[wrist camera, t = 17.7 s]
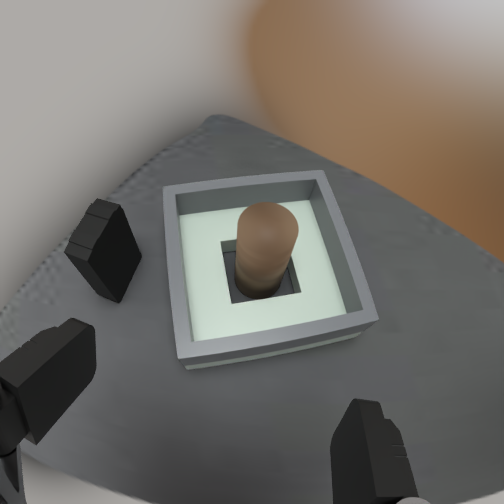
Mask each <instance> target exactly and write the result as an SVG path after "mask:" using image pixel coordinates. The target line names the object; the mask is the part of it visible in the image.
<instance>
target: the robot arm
mask: <svg viewBox="0 0 504 504" xmlns="http://www.w3.org/2000/svg"><path fill="white" fill-rule="evenodd" d="M95 371H96V344H95V329H94V327H93V326H92V325H89V324H87V323H84V322H82V321H80V320H77V319H75V318H70V319H68V320H67V321H66V322H64V323H63V324H62V325H60V326H59V327H58V328H57V327H52V328H49V329H46V330H43V331H40V332H39V333H38V334H36V335H35V336H34V337H32V338H31V339H30V341H27V342H26V343H25V344H23V345H22V347H21V348H20V347H19V348H18V349H17V350H15V351H14V352H13V353H11V354H10V355H9V356H8V357H6V358H5V359H4V360H2V361H1V362H0V504H27V503H26V499H25V493H24V485H23V475H22V463H21V448H20V444H19V443H20V442H21V441H22V440H23V438H26V439H27V440H29V441H30V442H32V443H33V444H35V445H37V444H38V443H39V442H40V440H41V439H42V438H43V437H44V436H45V435H46V433H47V432H48V431H49V430H50V429H51V427H52V426H53V425H54V424H55V423H56V422H57V420H58V419H59V418H60V417H61V416H62V414H63V413H64V412H65V411H66V410H67V409H68V407H69V406H70V405H71V404H72V403H73V402H74V401H75V399H76V398H77V397H78V396H79V395H80V394H81V392H82V391H83V390H84V389H85V388H86V387H87V386H88V384H89V383H90V382H91V381H92V379H93V377H94V374H95ZM403 445H404V443H403V440H402V437H401V434H400V431H399V430H398V428H397V427H396V426H395V425H394V423H393V422H392V421H391V420H390V419H384V416H383V412H382V409H381V405H380V403H379V402H377V401H370V400H363V399H353V400H352V402H351V403H350V405H349V407H348V409H347V410H346V412H345V414H344V416H343V418H342V420H341V421H340V423H339V425H338V427H337V428H336V430H335V432H334V434H333V437H332V441H331V446H330V455H331V470H332V488H333V504H431V503H429V502H428V501H426V500H424V499H421V498H419V496H418V493H417V489H416V485H415V482H414V478H413V474H412V471H411V467H410V464H409V460H408V458H406V457H407V453H406V450H405V447H403Z"/></svg>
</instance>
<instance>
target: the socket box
mask: <svg viewBox="0 0 504 504" xmlns="http://www.w3.org/2000/svg"><path fill="white" fill-rule="evenodd" d="M259 202H272V203H277V204H279V205H282V206H284V207H285V208H287V209H288V210H289V211H290V212H291V213H292V214H293V215H294V216H295V218H296V220H297V222H298V226H299V233H298V237H297V240H296V243H295V245H294V248H293V251H292V254H291V256H290V259H289V262H288V265H287V266H288V270H289V274H290V278H291V281H292V285H293V289H294V293H295V294H290V295H284V296H279V297H273V298H267V299H261V300H255V301H248V302H242V303H236V304H231V300H230V294H229V289H228V283H227V277H226V272H225V266H224V261H223V255H222V253H223V252H230V251H236V242H237V223H238V219H239V217H240V215H241V213H242V212H243V211H244V210H245V209H246V208H247V207H249V206H251V205H253V204H255V203H259ZM163 205H164V224H165V239H166V253H167V265H168V277H169V287H170V297H171V307H172V316H173V324H174V332H175V340H176V348H177V355H178V359H179V361H180V362H181V363H182V364H183V365H184V366H185V367H186V369H187V370H190V369H197V368H204V367H211V366H218V365H224V364H231V363H237V362H243V361H248V360H254V359H260V358H265V357H270V356H275V355H280V354H285V353H290V352H295V351H300V350H304V349H309V348H313V347H318V346H322V345H326V344H330V343H334V342H339V341H343V340H347V339H350V338H354V337H356V336H358V335H359V334H360V333H362V332H363V331H365V330H366V329H367V328H369V327H370V326H371V325H373V324H374V323H375V322H377V321H378V320H379V317H378V314H377V311H376V308H375V305H374V302H373V299H372V296H371V293H370V290H369V287H368V284H367V281H366V278H365V275H364V273H363V270H362V267H361V264H360V261H359V259H358V256H357V253H356V250H355V248H354V245H353V242H352V240H351V237H350V235H349V232H348V229H347V227H346V224H345V222H344V219H343V217H342V214H341V212H340V209H339V207H338V204H337V202H336V199H335V197H334V195H333V192H332V190H331V187H330V185H329V183H328V180H327V178H326V176H325V173H324V171H323V170H315V171H301V172H288V173H276V174H265V175H254V176H244V177H235V178H226V179H217V180H209V181H201V182H193V183H186V184H179V185H172V186H165V187H163Z"/></svg>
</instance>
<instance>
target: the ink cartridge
mask: <svg viewBox="0 0 504 504" xmlns="http://www.w3.org/2000/svg"><path fill="white" fill-rule="evenodd" d="M64 253H65V254H66V255H67V257H68V258H69V259H70V261H71V262H72V263H73V264H74V266H75V267H76V268H77V269H78V271H79V272H80V273H81V274H82V276H83V277H84V278H85V279H86V281H87V282H88V283H89V284H90V285H91V287H92V288H93V289H94V290H95V291H96V293H97V294H98V295H101V296H103V297H106V298H108V299H111V300H113V301H116V302H120V301H121V300H122V298H123V296H124V294H125V292H126V289H127V287H128V285H129V283H130V281H131V279H132V277H133V275H134V272H135V270H136V268H137V266H138V264H139V262H140V260H141V253H140V251H139V248H138V246H137V243H136V241H135V238H134V236H133V234H132V231H131V229H130V226H129V223H128V221H127V218H126V216H125V213H124V210H123V209H122V208H121V206H120V205H119V204H116V203H112V202H108V201H105V200H101V199H96V200H95V202H94V203H93V204H91V205H90V206H89V208H88V209H87V211H86V213H85V215H84V217H83V218H82V220H81V221H80V223H79V225H78V226H77V228H76V230H74V232H73V233H72V235H71V237H70V239H69V243H68V245H67V247H66V249H65V251H64Z"/></svg>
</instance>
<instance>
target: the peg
mask: <svg viewBox="0 0 504 504" xmlns="http://www.w3.org/2000/svg"><path fill="white" fill-rule="evenodd" d="M298 233H299V226H298V222H297V220H296V218H295V216H294V215H293V214H292V213H291V212H290V211H289V210H288V209H287V208H285V207H284V206H282V205H279V204H277V203H272V202H259V203H255V204H253V205H251V206H249V207H247V208H246V209H245V210H244V211H243V212H242V213H241V215H240V217H239V219H238V223H237V242H236V261H235V283H236V286H237V287H238V289H239V290H240V292H241V293H243V294H244V295H245V296H247V297H249V298H252V299H265V298H268V297H270V296H272V295H273V294H274V293H275V292H276V291H277V290H278V288H279V286H280V284H281V281H282V278H283V276H284V273H285V270H286V267H287V265H288V262H289V259H290V256H291V254H292V251H293V248H294V245H295V243H296V240H297V237H298Z"/></svg>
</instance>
